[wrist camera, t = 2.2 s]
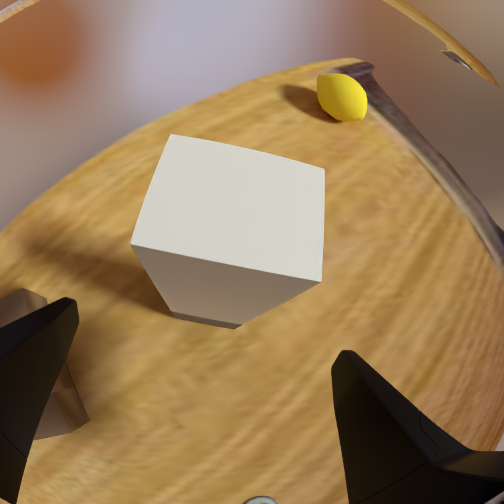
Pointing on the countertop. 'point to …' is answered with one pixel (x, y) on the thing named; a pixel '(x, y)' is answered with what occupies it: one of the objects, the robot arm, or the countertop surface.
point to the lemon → (341, 97)
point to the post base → (64, 392)
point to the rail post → (230, 230)
